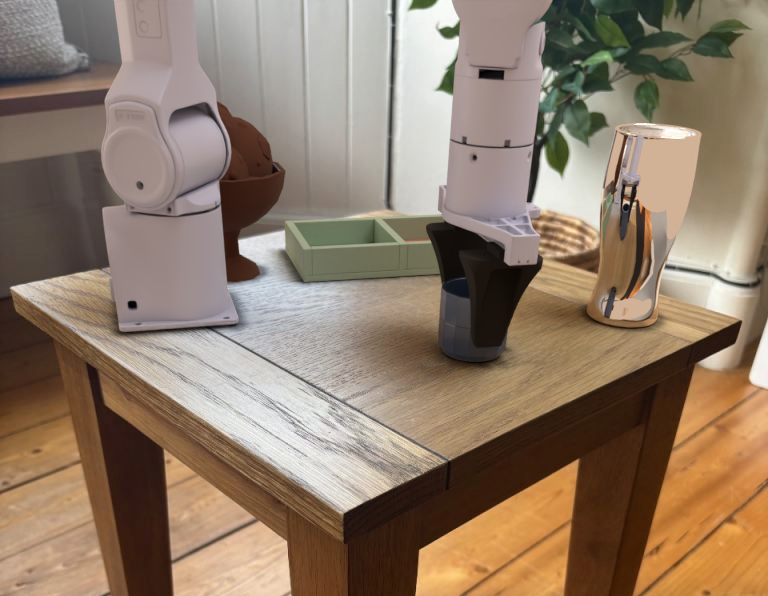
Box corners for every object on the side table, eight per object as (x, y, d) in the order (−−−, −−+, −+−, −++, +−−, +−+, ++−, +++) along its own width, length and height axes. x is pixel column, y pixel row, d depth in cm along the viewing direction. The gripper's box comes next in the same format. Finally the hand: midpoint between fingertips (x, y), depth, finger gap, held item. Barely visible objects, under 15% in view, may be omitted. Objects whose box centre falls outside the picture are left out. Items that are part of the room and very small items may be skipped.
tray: (304, 282, 77) (303, 249, 75) (285, 251, 85) (284, 220, 83) (495, 270, 81) (498, 239, 80) (460, 242, 89) (462, 213, 88)
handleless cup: (450, 366, 61) (456, 302, 58) (428, 339, 65) (432, 278, 63) (516, 361, 62) (524, 297, 60) (489, 334, 67) (496, 274, 64)
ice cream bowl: (232, 299, 72) (217, 113, 64) (149, 273, 78) (126, 98, 69) (311, 272, 79) (308, 101, 71) (231, 249, 85) (218, 88, 76)
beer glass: (666, 333, 68) (711, 140, 60) (582, 325, 69) (615, 134, 61) (657, 305, 74) (697, 125, 66) (580, 298, 75) (610, 120, 67)
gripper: (595, 160, 51) (561, 363, 58) (504, 122, 62) (486, 296, 70) (489, 163, 49) (469, 372, 56) (416, 123, 60) (408, 301, 68)
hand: (473, 330), depth 63 cm, fingers closed on handleless cup, 5 cm apart
